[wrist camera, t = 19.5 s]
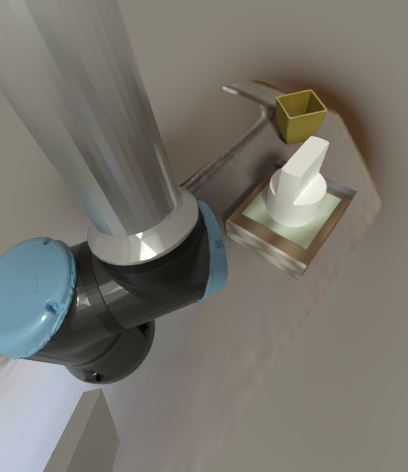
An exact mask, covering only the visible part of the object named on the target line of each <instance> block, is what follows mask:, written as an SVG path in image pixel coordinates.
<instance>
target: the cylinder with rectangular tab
mask: <svg viewBox="0 0 408 472" xmlns="http://www.w3.org/2000/svg"><path fill="white" fill-rule="evenodd" d="M328 145H329V142H327V141H325V140H323V139H321V138H317V137H314V136H310V137H309V139H308V140H307V141H306V142H305V143H304V144H303V145H302V146H301V147H300V149H299V150H298V151H297V152H296V153H295V154H294V155H293V156H292V158H291V159H290V160H289V161H288V162H287V163H286V164H285V165H284V166H283V168H281V169H279V170H277V171H276V172H275V173H274V174H273V176H272V177H271V180H270V185H269V191H268V198H267V204H266V207H267V211H268V214H269V215H270V217H271V218H272V219H273V220H275V221H276V222H277V223H279V224H282V225H284V226H289V227H299V226H303V225H306V224H307V223H309V222H311V221H312V220H313V219H314V217H315V215H316V213H317V211H318V209H319V206H320V204H321V202H322V199H323V197H324V195H325V193H326V187H327V185H326V182H325V179H324V178H323V176H322V175H321V174H320V173H319V170H320V167H321V165H322V162H323V159H324V156H325V154H326V151H327V148H328Z"/></svg>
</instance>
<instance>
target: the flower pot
mask: <svg viewBox="0 0 408 472" xmlns="http://www.w3.org/2000/svg"><path fill="white" fill-rule="evenodd" d="M326 112H327V109H326V107H325V106H324V104H323V103H322V102H321V101H320V99H319V98H318V97H317V96H316V95H315V93H314V92H313V91H312V90H305V91H301V92H296V93H292V94H287V95H282V96H278V97H276V121H277V125H278V128H279V130H280V133H281V134H282V136H283V138H284V140H285V142H286V143H287V144H291V143H296V142H300V141H305V140H307V139H308V138H309V137H310V136H312V135H313V134H314V133H315V132H316V131H317V129H318V128H319V126H320V124H321V122H322V120H323V118H324V116H325V114H326Z"/></svg>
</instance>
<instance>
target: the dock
mask: <svg viewBox="0 0 408 472" xmlns="http://www.w3.org/2000/svg"><path fill="white" fill-rule="evenodd" d="M286 163H287V162H286V161H283V160H281V159H279V160H278V161H277V162H276V163H275V167H274V168H273V169H272V170H271V172H270V173H269V174H268V175H267V176H266V177H265V178H264V179H263V180H262V181H261V183H260V184H259V185H258V186H257V187H256V188H255V189H254V190H253V191H252V193H251V194H250V195H249V196H248V197H247V198H246V199H245V200H244V201H243V203H242V204H241V205H240V206H239V207H238V208H237V209H236V210H235V211H234V213H233V214H232V215H231V216H230V217H229V218H228V219H227V220H226V235H227V236H228V237H230V238H231V239H233V240H235V241H236V242H238V243H239V244H241V245H243V246H244V247H246V248H248V249H249V250H251V251H252V252H254V253H256V254H257V255H259V256H260V257H262V258H264V259H265V260H267V261H268V262H270V263H272V264H273V265H275V266H277V267H278V268H280V269H281V270H283V271H285V272H286V273H288V274H289V275H291V276H293V277H294V278H296V279H297V280H299V279H300V278H301V276H302V275H303V273H304V272H305V270H306V269H307V267H308V266H309V264H310V263H311V261H312V260H313V258H314V257H315V255H316V254H317V252H318V251H319V249H320V248H321V246H322V245H323V243H324V242H325V240H326V239H327V237H328V236H329V234H330V233H331V232H332V230H333V229H334V227H335V226H336V224H337V223H338V221H339V220H340V218H341V217H342V215H343V214H344V212H345V211H346V209H347V207H348V206H349V204H350V202H351V200H352V199H353V197H354V195H355V194H356V192H357V191H354V190H352V189H350V188H347V187H345V186H343V185H340V184H338V183H336V182H333V181H331V180H328V179H326V178H324V177H323V178H324V179H325V182H326V185H327V187H326V193H325V195H324V197H323V199H322V202H321V204H320V206H319V209H318V211H317V213H316V215H315V217H314V219H313V220H312V221H311V222H309V223H307V224H306V225H303V226H299V227H289V226H284V225H282V224H279V223H277V222H276V221H275V220H273V219H272V218H271V217H270V215H269V214H268V211H267V207H266V204H267V198H268V191H269V185H270V180H271V177H272V176H273V174H274V173H275V172H276V171H277V170H279V169H281V168H283V166H284V165H285V164H286Z"/></svg>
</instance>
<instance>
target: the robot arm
mask: <svg viewBox="0 0 408 472" xmlns="http://www.w3.org/2000/svg"><path fill="white" fill-rule="evenodd" d="M0 91H1V92H2V94H3V95H4V96H5V98H6V99H7V101H8V102H9V103H10V105H11V106H12V108H13V109H14V111H15V112H16V114H17V115H18V117H19V118H20V119H21V121H22V122H23V124H24V125H25V127H26V128H27V129H28V131H29V132H30V134H31V135H32V137H33V138H34V140H35V141H36V142H37V144H38V145H39V147H40V148H41V150H42V151H43V153H44V154H45V155H46V157H47V158H48V160H49V161H50V162H51V164H52V165H53V167H54V168H55V170H56V171H57V173H58V174H59V176H60V177H61V178H62V180H63V181H64V183H65V184H66V186H67V187H68V188H69V190H70V191H71V193H72V194H73V196H74V197H75V198H76V200H77V201H78V203H79V204H80V205H81V207H82V209H83V210H84V211H85V213H86V214H87V216H88V217H89V219H90V220H91V224H90V227H89V230H88V234H87V235H88V236H87V240H88V241H85V242H83V243H80V244H77V245H74V246H72V247H69V246H68V245H67V244H66V243H64V242H62V241H60V240H53V239H51V238H48V237H37V238H32V239H28V240H26V241H23V242H21V243H19V244H17V245H15V246H14V247H12V248H10V249H9V250H7V251H6V252H5V253H4V254H2V255H1V256H0V355H3V356H5V357H7V358H11V359H27V360H34V361H40V362H46V363H53V364H59V365H64V366H65V367H66V368H67V369H68V370H69V372H70V373H71V374H72V375H73V376H75V377H76V378H78V379H80V380H82V381H84V382H87V383H92V384H109V383H114V382H117V381H119V380H121V379H123V378H125V377H127V376H128V375H130V374H131V373H132V372H133V371H135V370H136V369H137V368H138V367H139V366H140V364H141V363H142V362H143V360H144V359H145V357H146V356H147V354H148V352H149V350H150V348H151V345H152V342H153V338H154V329H155V326H154V319H155V318H158V317H160V316H163V315H165V314H168V313H170V312H173V311H175V310H178V309H180V308H183V307H185V306H188V305H190V304H193V303H198V302H201V301H203V300H204V299H205V298H206V297H208V296H210V295H212V294H214V293H216V292H218V291H220V290H221V289H222V288H223V287H224V285H225V283H226V280H227V275H228V264H227V256H226V250H225V247H224V245H223V243H222V235H221V232H220V228H219V226H218V223H217V221H216V218H215V216H214V214H213V212H212V211H211V209H210V207H209V206H208V205H207V204H206V203H205V202H204V201H202V200H196V199H195V197H194V196H193V195H192V194H191V193H190V192H189V191H188V190H187V189H185V188H183V187H181V186H178V185H176V184H175V180H174V178H173V174H172V171H171V168H170V165H169V162H168V159H167V155H166V152H165V149H164V146H163V143H162V140H161V137H160V133H159V131H158V127H157V124H156V121H155V118H154V115H153V112H152V108H151V105H150V102H149V99H148V96H147V93H146V90H145V86H144V83H143V80H142V77H141V74H140V71H139V68H138V65H137V61H136V58H135V55H134V52H133V49H132V46H131V43H130V40H129V37H128V33H127V30H126V27H125V24H124V21H123V18H122V14H121V11H120V8H119V5H118V2H117V0H0ZM119 442H120V439H119V436H118V433H117V430H116V428H115V425H114V422H113V419H112V416H111V414H110V411H109V408H108V405H107V402H106V399H105V397H104V394H103V391H102V389H97V390H92V391H88V392H83V394H82V396H81V398H80V400H79V402H78V404H77V406H76V408H75V410H74V412H73V414H72V416H71V418H70V420H69V422H68V424H67V426H66V428H65V430H64V432H63V434H62V436H61V438H60V440H59V442H58V444H57V446H56V448H55V449H54V451H53V453H52V455H51V457H50V459H49V461H48V463H47V465H46V467H45V469H44V471H43V472H111V471H112V468H113V464H114V460H115V457H116V453H117V449H118V446H119Z"/></svg>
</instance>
